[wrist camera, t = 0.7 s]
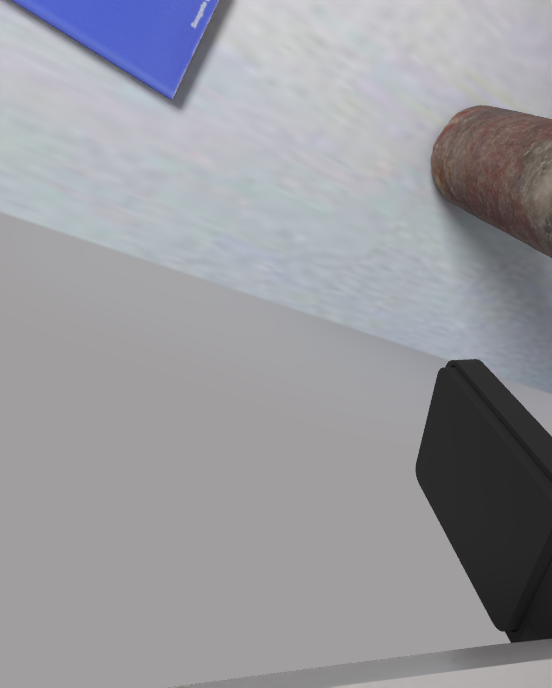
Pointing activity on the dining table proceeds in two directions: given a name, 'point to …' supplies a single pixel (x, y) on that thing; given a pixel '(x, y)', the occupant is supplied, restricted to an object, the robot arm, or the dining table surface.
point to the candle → (499, 171)
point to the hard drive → (134, 33)
